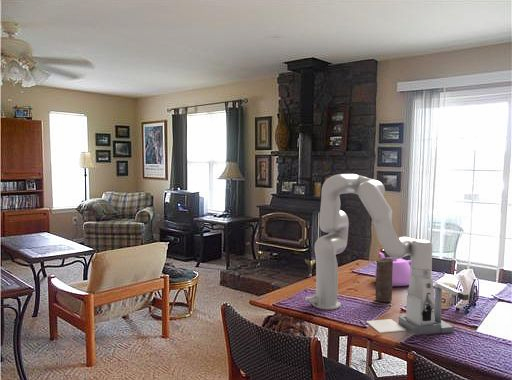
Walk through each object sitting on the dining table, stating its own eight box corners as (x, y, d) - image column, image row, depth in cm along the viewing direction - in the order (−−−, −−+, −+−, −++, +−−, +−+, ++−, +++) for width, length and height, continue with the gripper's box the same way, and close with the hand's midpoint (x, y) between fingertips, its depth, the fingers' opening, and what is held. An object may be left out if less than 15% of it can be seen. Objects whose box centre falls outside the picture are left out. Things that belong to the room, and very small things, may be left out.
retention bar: (470, 299, 144) (470, 294, 144) (462, 300, 144) (462, 294, 143) (439, 286, 160) (439, 281, 160) (432, 286, 160) (432, 281, 160)
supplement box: (419, 333, 153) (420, 300, 152) (405, 325, 160) (406, 294, 159) (434, 330, 156) (435, 297, 155) (419, 323, 163) (420, 292, 162)
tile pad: (379, 333, 153) (379, 332, 153) (366, 322, 164) (366, 321, 164) (406, 330, 155) (406, 329, 155) (391, 319, 166) (391, 319, 166)
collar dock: (415, 335, 151) (416, 294, 150) (397, 323, 163) (398, 285, 162) (453, 332, 154) (454, 292, 153) (433, 320, 166) (434, 282, 165)
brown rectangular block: (392, 304, 184) (393, 260, 183) (376, 303, 186) (376, 260, 184) (390, 299, 192) (391, 257, 190) (374, 297, 193) (375, 256, 192)
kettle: (423, 286, 211) (424, 258, 210) (386, 289, 206) (387, 260, 205) (399, 275, 233) (399, 249, 232) (365, 277, 228) (365, 250, 227)
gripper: (444, 277, 149) (443, 324, 150) (416, 266, 166) (415, 308, 167) (425, 278, 147) (424, 326, 148) (399, 267, 164) (398, 309, 165)
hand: (419, 316), depth 157 cm, fingers closed on supplement box, 8 cm apart
